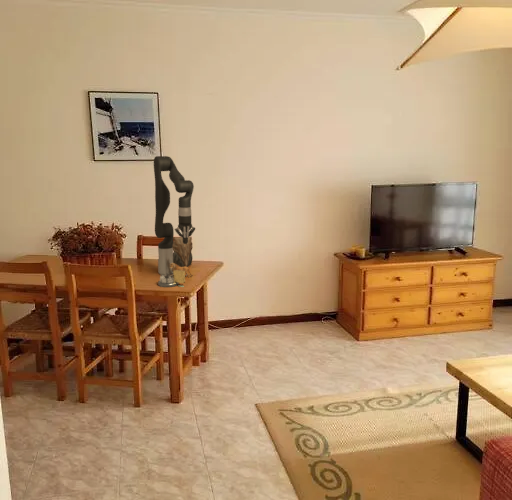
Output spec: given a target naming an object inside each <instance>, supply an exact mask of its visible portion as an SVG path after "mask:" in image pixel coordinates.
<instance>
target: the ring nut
mask: <svg viewBox="0 0 512 500" xmlns="http://www.w3.org/2000/svg"><path fill="white" fill-rule="evenodd" d="M165 274H166V275H167V274H168V273H165ZM159 275H160V276H159V281H160V282H162V283H173V282H178V283H179V284H184V283H186V276H185V275H186V273H185V271H181V270H174V273H173V274H170V276H168V278H166V275H161V274H159Z"/></svg>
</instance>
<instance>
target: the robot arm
mask: <svg viewBox="0 0 512 500" xmlns="http://www.w3.org/2000/svg"><path fill="white" fill-rule="evenodd" d="M153 172H154V173H153V174H154V175H153V176H154V182H155V183H154V186H155V187H154V188H155V190H154V192H155V193H154V195H155V196H154V198H155V199H154V202H155V217H154V218H155V220H154V233H155V236H156V238H158V239H163V240H162V241H159V243H157V249H158V251H157V252H158V259H157V271H158V275H166V274H165V273H168V274H170V275H172V274H174V272H173V271H172V270H170V264H171V263H173V252H174V251H173V242H174V233H176V234H177V235H178V236H179V237H182V238H183V243H184V244H187V243H188V237H192V235H193V234H194V232H195V231H196V227H194V226H193V224H192V207H191V206H192V204H191V202H192V196H193V193H194V189H195V188H194V187H195V186H194V183H193V181H192V180H190V179H189V180H187V179H185V177H184V175H183V174H182V173H181V172H180V170H178V167H177V166H176V164H175V162H174V160H173V158H172V157H171V156H167V155H164V156H163V155H162V156H158V155H157V156H155V157H154V159H153ZM162 172H169V175H168V177H169V180H170V181H171V182H172V183H173V186H174V188H175V191H176V192H177V193H179V194H184V195H183V196H180V197H179V198H178V211H177V213H178V225H177V228H174V226H173V224H172V223H171V222H164V218H165V214H166V212H167V211H168V208H169V206H170V204H171V192H170V189H169V188H168V186H167V185H166V183H165V181H164V179H163V177H162ZM174 231H175V232H174Z"/></svg>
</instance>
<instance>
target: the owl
mask: <svg viewBox="0 0 512 500" xmlns="http://www.w3.org/2000/svg"><path fill="white" fill-rule="evenodd" d="M192 240H193V239H192V236H189V237H188V243H187V244H184V243H183V238H182V237H180V236H179V237H176V236H175V237H174V236H173V263H175V264H177V265H179V266H180V267H185V266H186V267H188V268H189V267H190V266H192V263H193V254H192V250H193V241H192Z"/></svg>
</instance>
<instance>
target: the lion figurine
mask: <svg viewBox="0 0 512 500" xmlns="http://www.w3.org/2000/svg"><path fill="white" fill-rule="evenodd" d="M170 270H172V271H173V272H174V270H181V271H185V277H187V278H190V277H193V274H191V270H190V268H189V267H186V266H185V267H180V266H179V265H177V264H175V263H171V264H170Z"/></svg>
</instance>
